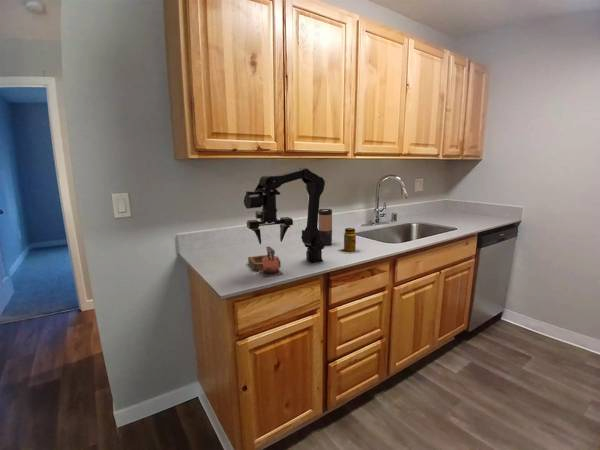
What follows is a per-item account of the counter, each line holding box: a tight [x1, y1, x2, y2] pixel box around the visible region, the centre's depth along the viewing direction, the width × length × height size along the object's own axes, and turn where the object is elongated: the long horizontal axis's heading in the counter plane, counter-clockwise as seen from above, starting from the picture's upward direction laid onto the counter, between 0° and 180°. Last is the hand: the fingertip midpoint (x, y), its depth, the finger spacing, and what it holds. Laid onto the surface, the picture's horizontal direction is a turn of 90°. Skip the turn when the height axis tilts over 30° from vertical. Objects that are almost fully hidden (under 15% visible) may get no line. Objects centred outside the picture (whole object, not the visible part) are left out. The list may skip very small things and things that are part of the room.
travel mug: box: [318, 208, 333, 247], centre depth 176 cm, size 8×8×20 cm
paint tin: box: [262, 246, 280, 275], centre depth 132 cm, size 7×7×10 cm
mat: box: [258, 269, 284, 278], centre depth 133 cm, size 8×8×1 cm
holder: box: [247, 254, 282, 272], centre depth 143 cm, size 12×12×3 cm
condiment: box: [338, 227, 359, 254], centre depth 163 cm, size 7×8×12 cm
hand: (270, 242), depth 132 cm, fingers open, 9 cm apart
